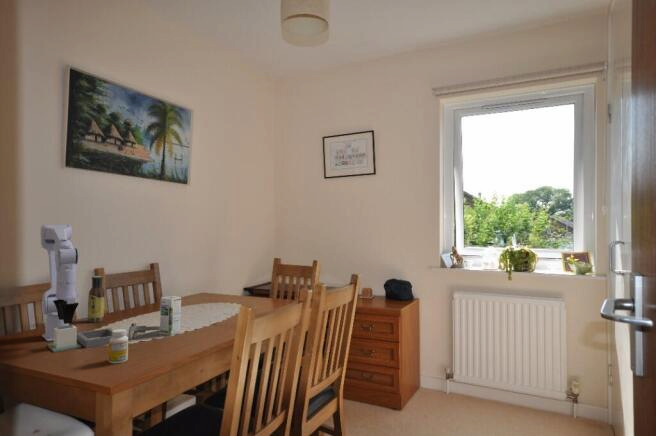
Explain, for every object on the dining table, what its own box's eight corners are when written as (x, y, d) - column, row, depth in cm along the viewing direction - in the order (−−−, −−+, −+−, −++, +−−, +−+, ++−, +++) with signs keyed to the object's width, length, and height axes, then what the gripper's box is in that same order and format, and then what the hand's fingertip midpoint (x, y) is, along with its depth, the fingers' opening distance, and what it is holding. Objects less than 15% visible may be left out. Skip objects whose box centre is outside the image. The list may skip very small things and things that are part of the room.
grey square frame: (76, 339, 152) (76, 333, 152) (109, 334, 160) (109, 327, 160) (86, 348, 142) (86, 340, 142) (121, 341, 150) (121, 334, 150)
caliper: (130, 341, 152) (130, 324, 152) (128, 340, 153) (128, 324, 153) (171, 328, 171) (172, 313, 171) (169, 328, 171) (170, 313, 171)
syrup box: (159, 334, 161) (159, 297, 161) (170, 330, 167) (170, 295, 167) (170, 335, 159) (171, 298, 159) (181, 332, 165) (181, 296, 165)
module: (53, 345, 143) (54, 326, 143) (73, 341, 147) (73, 323, 147) (56, 348, 140) (57, 328, 140) (76, 344, 144) (77, 325, 144)
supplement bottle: (113, 358, 132) (114, 328, 132) (130, 358, 133) (131, 328, 133) (105, 364, 127) (106, 332, 127) (123, 363, 127) (124, 332, 127)
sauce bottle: (85, 321, 180) (86, 276, 180) (100, 318, 184) (101, 275, 185) (91, 323, 175) (92, 277, 176) (106, 321, 180) (107, 276, 181)
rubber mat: (47, 345, 144) (47, 344, 144) (73, 341, 150) (73, 339, 150) (53, 352, 137) (53, 350, 137) (80, 347, 142) (80, 346, 142)
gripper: (84, 284, 141) (83, 323, 141) (73, 279, 152) (72, 316, 151) (60, 286, 136) (59, 326, 136) (51, 281, 147) (50, 318, 146)
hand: (65, 321), depth 143 cm, fingers open, 7 cm apart
